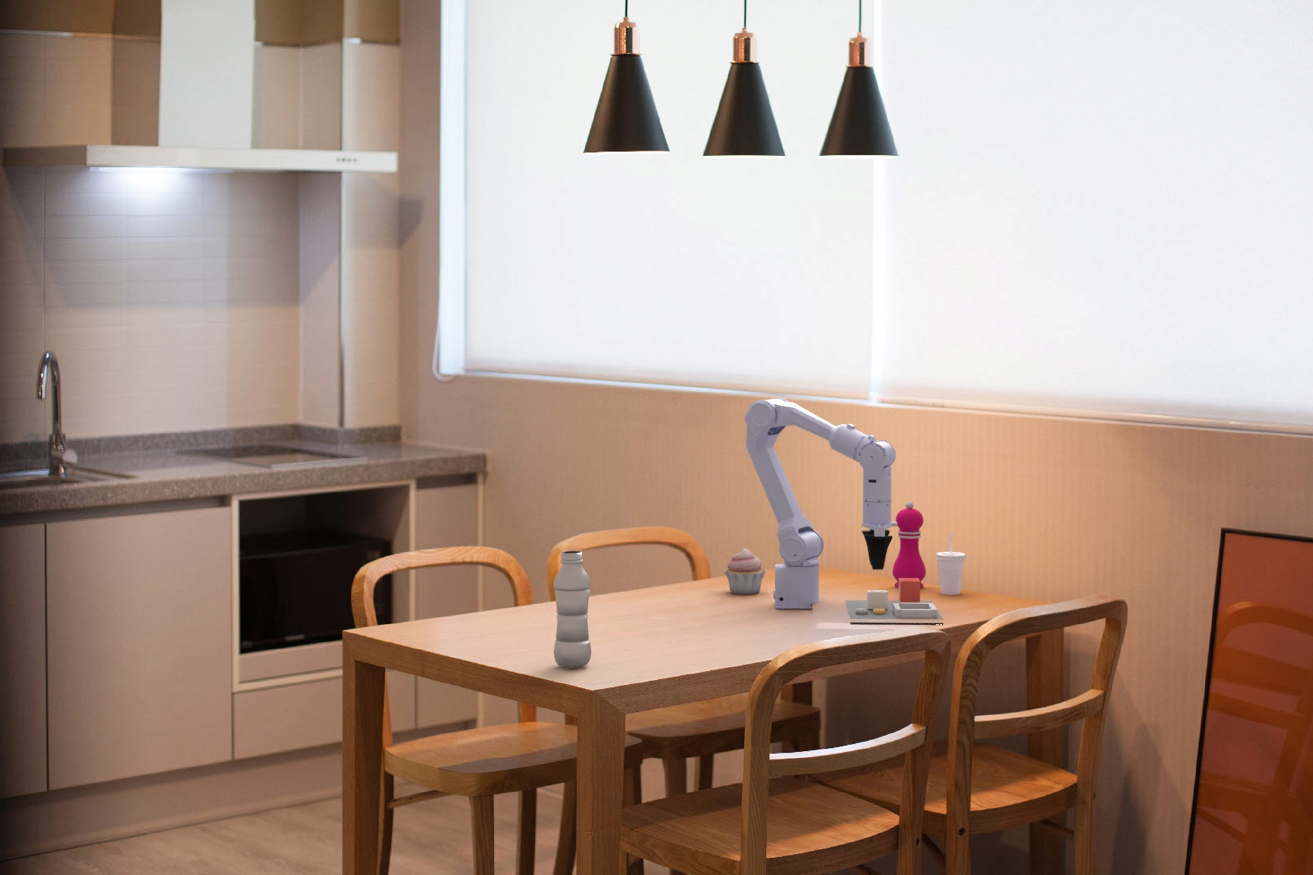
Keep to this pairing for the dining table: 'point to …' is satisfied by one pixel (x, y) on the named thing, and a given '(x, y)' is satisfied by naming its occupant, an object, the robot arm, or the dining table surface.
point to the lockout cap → (909, 590)
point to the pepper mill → (909, 545)
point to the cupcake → (745, 573)
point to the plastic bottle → (572, 612)
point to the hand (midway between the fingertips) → (876, 567)
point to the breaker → (877, 599)
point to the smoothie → (950, 570)
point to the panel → (893, 612)
